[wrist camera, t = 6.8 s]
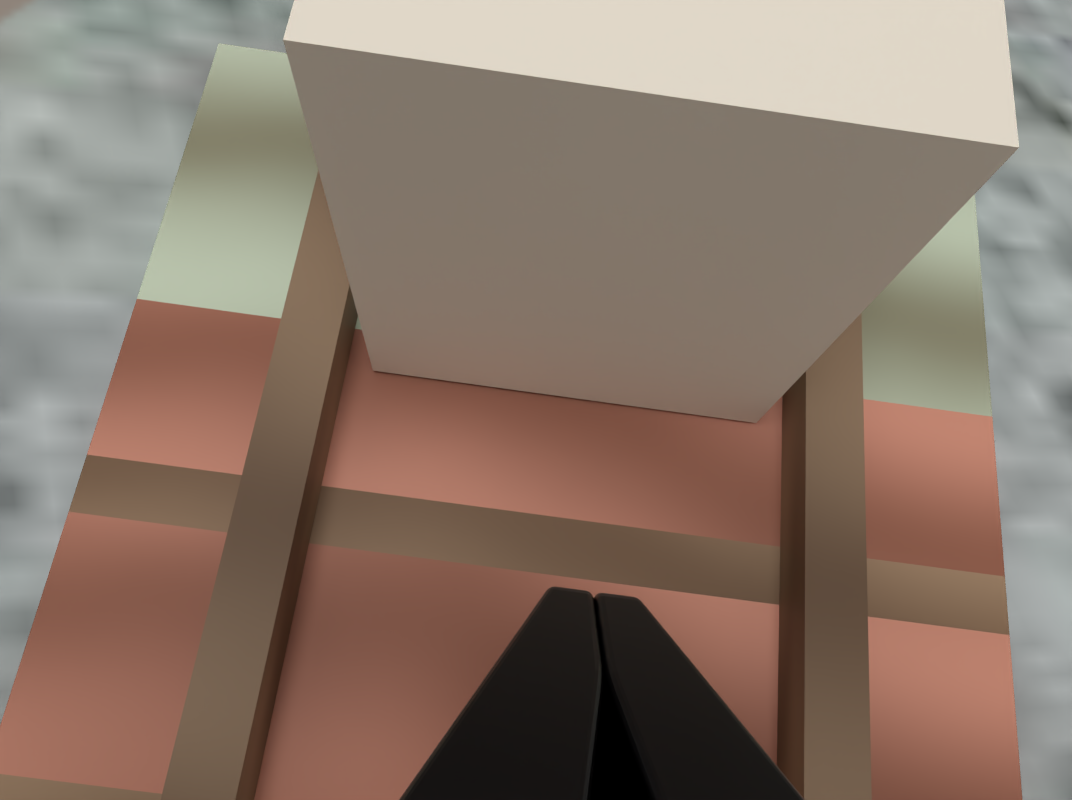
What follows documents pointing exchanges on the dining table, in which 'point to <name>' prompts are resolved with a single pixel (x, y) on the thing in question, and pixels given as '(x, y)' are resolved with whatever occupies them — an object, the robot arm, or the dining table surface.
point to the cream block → (641, 180)
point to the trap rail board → (493, 526)
